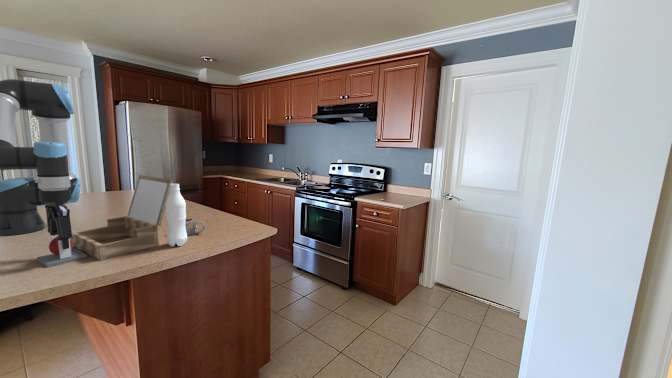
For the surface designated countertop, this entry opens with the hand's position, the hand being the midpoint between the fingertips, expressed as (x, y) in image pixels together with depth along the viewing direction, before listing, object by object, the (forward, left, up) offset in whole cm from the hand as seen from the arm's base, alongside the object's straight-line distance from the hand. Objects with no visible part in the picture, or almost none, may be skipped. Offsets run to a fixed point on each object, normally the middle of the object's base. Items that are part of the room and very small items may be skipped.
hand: (62, 255), depth 95 cm
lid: (-1, +29, +16) cm, 33 cm away
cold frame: (-1, +16, -1) cm, 16 cm away
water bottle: (+17, +30, -1) cm, 35 cm away
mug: (+9, +42, -2) cm, 42 cm away
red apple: (0, 0, 0) cm, 0 cm away
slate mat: (0, 0, -1) cm, 1 cm away
